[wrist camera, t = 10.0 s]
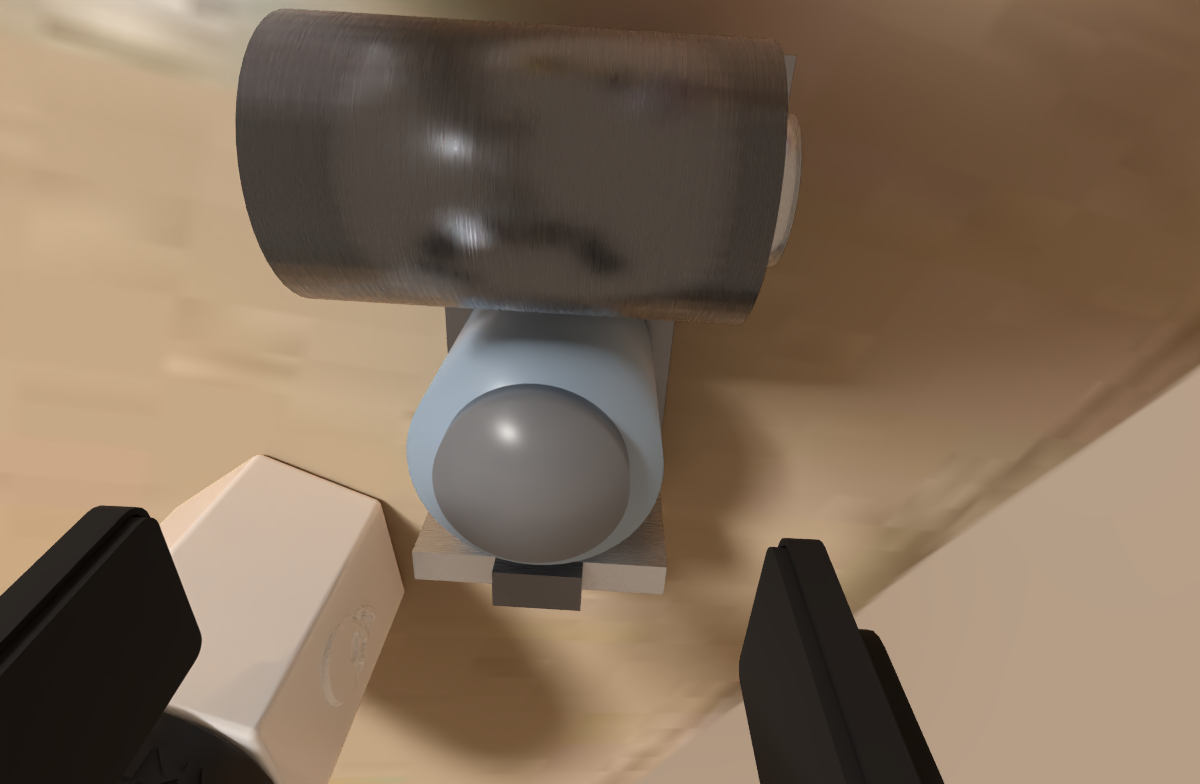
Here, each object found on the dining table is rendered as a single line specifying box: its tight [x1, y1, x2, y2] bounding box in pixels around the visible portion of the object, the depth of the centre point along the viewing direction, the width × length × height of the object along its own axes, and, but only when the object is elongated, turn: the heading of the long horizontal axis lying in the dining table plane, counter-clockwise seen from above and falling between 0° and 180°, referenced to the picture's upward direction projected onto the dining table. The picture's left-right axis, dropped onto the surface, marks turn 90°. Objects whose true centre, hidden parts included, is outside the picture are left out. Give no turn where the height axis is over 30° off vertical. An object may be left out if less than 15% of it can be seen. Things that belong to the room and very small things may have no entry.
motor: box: [236, 9, 802, 611], centre depth 15 cm, size 14×8×10 cm, turn 177°
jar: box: [118, 455, 404, 784], centre depth 20 cm, size 9×8×12 cm
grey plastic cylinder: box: [407, 309, 664, 565], centre depth 17 cm, size 6×6×7 cm
